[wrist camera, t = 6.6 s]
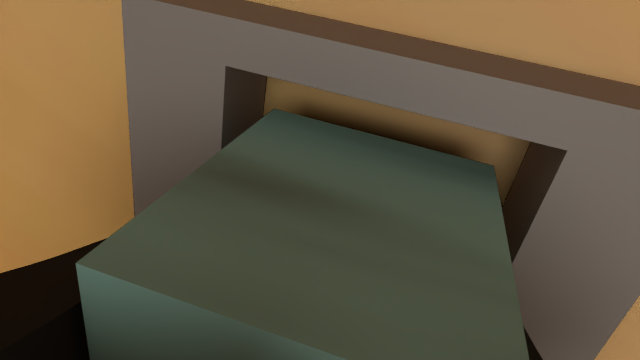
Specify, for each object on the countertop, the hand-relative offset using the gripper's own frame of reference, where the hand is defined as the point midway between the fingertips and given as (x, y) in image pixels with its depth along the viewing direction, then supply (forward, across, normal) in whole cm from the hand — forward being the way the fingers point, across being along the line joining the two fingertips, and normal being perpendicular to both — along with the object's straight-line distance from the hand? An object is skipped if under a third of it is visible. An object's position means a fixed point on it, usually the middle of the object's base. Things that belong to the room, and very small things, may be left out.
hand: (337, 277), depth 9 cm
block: (+2, 0, 0) cm, 2 cm away
